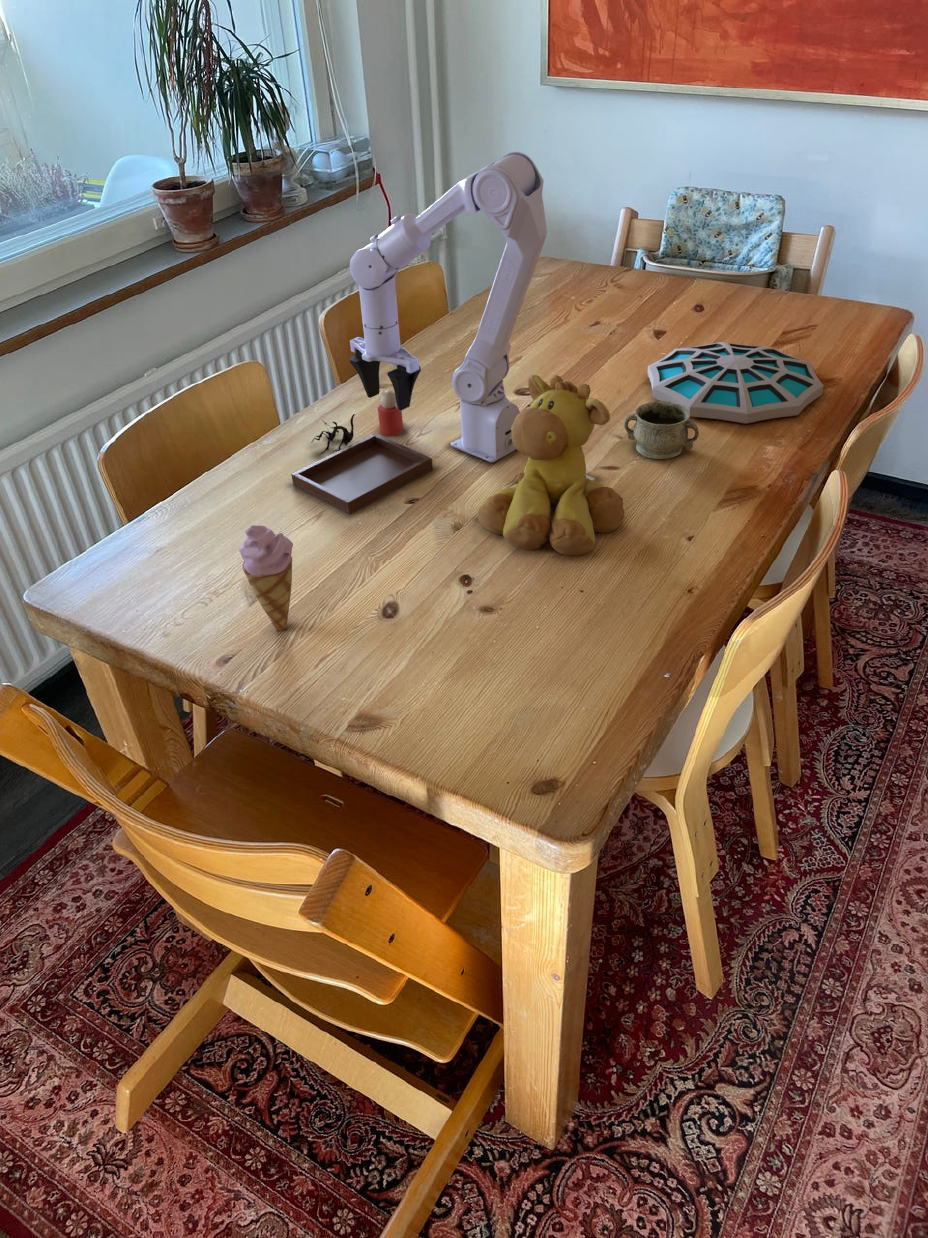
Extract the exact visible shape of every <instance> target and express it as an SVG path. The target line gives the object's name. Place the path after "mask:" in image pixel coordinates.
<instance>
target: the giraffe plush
mask: <svg viewBox="0 0 928 1238" xmlns="http://www.w3.org/2000/svg"><path fill="white" fill-rule="evenodd" d="M527 382H528V383H527V385H528V392H529V396H530V397H531V399H532V400H533V402H532V403H531V405H530V406H529V407H528V408H526V409H523V410H522V411H521V412H520V411H519V412H520V413H519V414H518V415H517V417H516V418H515V420H514V423H513V425H512V428H511V436H512V442H513V445H514V447H515V448H516V450H517V451H518V452H520V453H522V455H524V456H526V457H528V458H527V463H526V465H525V467H524V469H523V471H522V472H518V474H517V475H516V477H517V482H518V483H515V484H514V485H512V486H507V487H504V488H501V489H498V490H497V491H496V492H495V493H493V494H492V495H490V496H489V497H487V498H486V499H485V500H484V501H482V503H481V504H480V506H479V507H478V508H477V520H478V523H480V525H481V526H482V527H483V528H485V530H487V531H489V532H492V533H494V534H496V535H503V537H504V540H505V541H506V542H507V543H509V544H510V545H512V546H514V547H515V548H517V549H520V550H521V549H523V550H537V549H540V548H541V547H542V546H543V545H544V544H545V543H546V542H547V541H548V540H549V544H550V546H551V547H552V549H553V550H554V551H556V552H557V553H558V554H561V555H565V556H583V555H585V554H587V553H589V552H590V551H591V550H592V549H593V548H594V546H595V543H596V536H595V533H610V532H614V531H615V530H617V529H618V528H619V527H620V525H621V524H622V522H623V521H624V519H625V518H624V517H625V513H626V512H625V509H624V501H623V499H624V498H623V497H622V495H620V494H619V493H617V491H615V489H614V488H612V487H609V486H605V485H603V484H601V483H599V482H598V481H596V478H595V477H593V476H591V475H588V474H587V464H586V458H585V453H584V450H583V446H584V445H585V444H586V443H587V442H588V441H589V438H590V436H591V435H592V433H593V431H594V429H595V426H597V425H598V426H604V425H606V424H608V423H609V422H610V420H611V414H610V410H609V409H608V408H607V406H606V404H605V403H603V402H602V401H601V400H599V399H597V398H594V397H590V394H591V387H590V385H589V384H587V383H582V384H579V385H578V387H577V385H575V384H574V383H573V382H571V381H566V380H563V378H562V377H561V376H560V375H558V374H556V375H554V376H553V377H551V379H550V381H549V384H548V383H547V382H546V381H545V380H543V379H542V378H541V377H540V376H539V375H537V374H532V375H530V376H529V378H528V381H527ZM551 509H553V510H555V511H554V515H553V518H552V516H551V515H552V513H551V511H552V510H551Z"/></svg>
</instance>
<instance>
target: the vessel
mask: <svg viewBox="0 0 928 1238" xmlns="http://www.w3.org/2000/svg"><path fill="white" fill-rule="evenodd" d="M634 412H635V413H634ZM634 412H633V413H629V414H628V415H627V416H626V417H625V419H624V423H623V425H624V430H625V431H626V433H627V439H628V440H630V441H635V440H636V444H635V449H636V451H637V452H638V453H639V455H642V456H643V457H645V458H649V459H653V460H666V459H672V458H675V457H678V456H679V455H680V454H681V453H683V445H684V444H685V449H686V450H690V449H692V448H693V447H694V442H696V441H697V440H698V438H699V435H700V431H699V428H698V426H697V425H698V424H696V422H695V421H693V420H689V419H690V418H691V417H690V412H689V411H688V410H687V409H686V408H685V407H684V406H682V405H680V404H677V403H673V402H663V401H660V400H655V401H650V402H646V403H643V404H641V405H639V406H638V407H636V409H635V411H634ZM631 421H634V422H635V423H634V425H633V429H630V427H629V423H630V422H631ZM689 429H692V430H693V431H694V436H693V437H691V438H690V437H689Z"/></svg>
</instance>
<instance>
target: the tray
mask: <svg viewBox="0 0 928 1238" xmlns="http://www.w3.org/2000/svg"><path fill="white" fill-rule="evenodd" d="M338 450H339V449H338ZM433 465H434V464H433V458H432V457H431V456H429V455H426V454H423V453H421V452H420V451H417V450H415V449H412V448H410V447H407V446H405V445H403V444H400V443H398V442H395V441H393V440H391V439H389V438H387V437H384V436H382V435H380V434H378V433H372V434H370V435H368V436H366V437H364V438H362V439H360V440H358V441H355V442H354V443H352V444H350V445H348V446H346V447H344V448H342V449H340V450H339V451H335V452H333V453H332V454H329V455H327V456H325V457H323V458H321V459H319V460H317V461H315V462H313V463H311V464H309V465H306V466H305V467H303V468H301V469H299V470H297V471H295V472H292V473H291V474H290V476H291V480H292V486H293V487H295V488H297V489H299V490H301V491H303V492H304V493H306V494H309V495H311V496H313V497H314V498H316V499H318V500H320V501H323V502H324V503H326V504H328V505H329V506H332V507H333V508H335V509H338V510H340V511H342V512H344V513H345V514H347V515H352V514H354V513H355V512H358V511H359V510H361V509H363V508H365V507H367V506H368V505H370V504H373V503H374V502H376V501H378V500H379V499H381V498H383V497H386V496H387V495H388V494H390V493H392V492H394V491H396V490H398V489H400V488H402V487H404V486H405V485H407V484H409V483H411V482H413V481H415V480H416V479H418V478H420V477H422V476H424V475H425V474H427V473H429V472H431V471H433V470H434V467H433Z"/></svg>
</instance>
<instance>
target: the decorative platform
mask: <svg viewBox="0 0 928 1238" xmlns="http://www.w3.org/2000/svg"><path fill="white" fill-rule="evenodd" d="M646 373H647V377H648V379H649V381H650V384H651V398H653V399H655V400H657V401H663V402H673V403H677V404H680V405H682V406H684V407H685V408H686V409H687V410H688V411H689V412H690V418H691V417H692V418H703V419H714V420H721V421H728V422H734V423H740V424H746V425H747V424H751V423H756V422H760V421H766V420H771V419H772V420H773V419H777V418H786V417H794V416H796V417H797V416H799V415H800V413H802V411H803V410H804V409H805V408H806V407H807V406H808V405H810V404H811V403H812V402H813V401H815V400H816V399H818V398H819V397H821V396H822V395H823V392H824V384H823V383H822V381H821V380H820V379H819V378H818V376H817V375H816V372H815V370H814V367H813V364H812V362H809V361H806V360H803V359H801V358H798V357H795V356H792V355H790V354H787V353H786V352H783V351H781V350H779V349H777V348H776V347H775V348H774V347H773V346H760V345H749V344H738V343H731V342H724V341H718V342H714V343H708V344H702V345H695V346H689V347H687V346H686V347H679V348H678V347H677V348H674V349H672V350H671V351H670V352H669V353H668V354H666V355H665V356H663V357H662V358H660V359H658V360H657V361H655V362H653V363H650V364H648V366H647V372H646Z"/></svg>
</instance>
